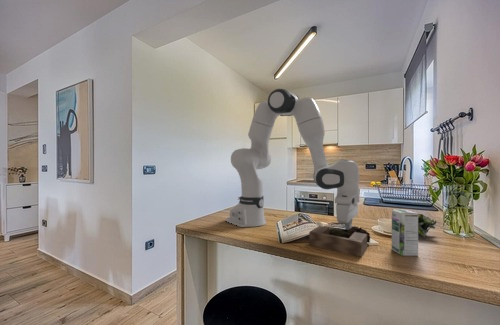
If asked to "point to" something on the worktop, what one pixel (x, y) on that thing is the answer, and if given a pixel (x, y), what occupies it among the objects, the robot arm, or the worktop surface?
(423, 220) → the green leafy plant
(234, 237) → the worktop surface
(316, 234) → the socket block
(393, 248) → the syrup box
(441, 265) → the worktop surface
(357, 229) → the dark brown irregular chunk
